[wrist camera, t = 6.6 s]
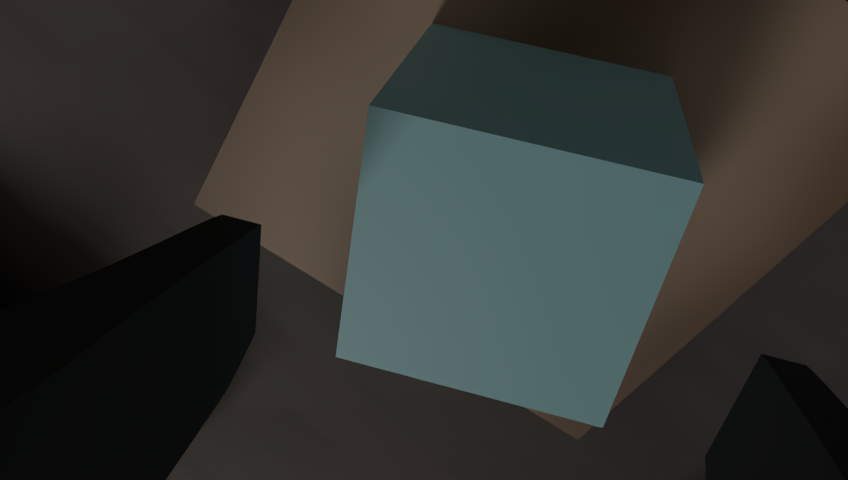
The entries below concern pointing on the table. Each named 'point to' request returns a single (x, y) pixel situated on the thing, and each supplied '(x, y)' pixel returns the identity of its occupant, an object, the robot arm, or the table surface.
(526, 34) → the walnut base
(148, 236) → the table surface
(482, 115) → the teal block
